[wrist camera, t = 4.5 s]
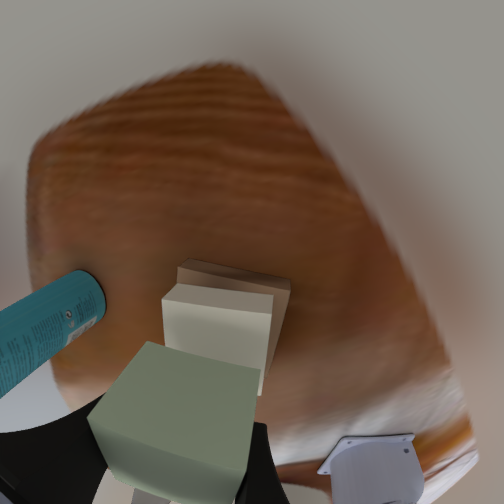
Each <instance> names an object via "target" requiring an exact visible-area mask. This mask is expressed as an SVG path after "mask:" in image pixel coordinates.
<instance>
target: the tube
mask: <svg viewBox="0 0 504 504" xmlns="http://www.w3.org/2000/svg"><path fill="white" fill-rule="evenodd" d="M104 313H105V298H104V294H103V292H102V290H101V288H100V286H99V284H98V283H97V282H96V280H95V279H94V278H93V277H92V276H91V275H90V274H88V273H86V272H84V271H81V270H76V271H73V272H71V273H69V274H67V275H65V276H63V277H61V278H59V279H57V280H56V281H54V282H52V283H50V284H48V285H46V286H45V287H43V288H41V289H39V290H37V291H36V292H34V293H32V294H30V295H28V296H27V297H25V298H23V299H21V300H19V301H18V302H16V303H14V304H12V305H11V306H9V307H7V308H5V309H3V310H2V311H0V399H1V398H2V397H3V396H4V395H5V394H6V393H8V392H9V391H10V390H11V389H12V388H14V387H15V386H16V385H17V384H19V383H20V382H21V381H22V380H23V379H25V378H26V377H27V376H28V375H30V374H31V373H32V372H33V371H34V370H36V369H37V368H38V367H39V366H41V365H42V364H43V363H45V362H46V361H47V360H48V359H50V358H51V357H52V356H54V355H55V354H56V353H57V352H59V351H60V350H61V349H63V348H64V347H65V346H66V345H68V344H69V343H70V342H72V341H73V340H74V339H76V338H77V337H78V336H80V335H81V334H82V333H83V332H85V331H86V330H87V329H89V328H90V327H91V326H93V325H94V324H95V323H97V322H98V321H99V320H100V319H101V318H102V317H103V316H104Z"/></svg>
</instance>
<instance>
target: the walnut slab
mask: <svg viewBox="0 0 504 504" xmlns="http://www.w3.org/2000/svg"><path fill="white" fill-rule="evenodd" d="M177 283H180V284H187V285H194V286H201V287H209V288H217V289H225V290H233V291H242V292H250V293H259V294H269V295H274V296H273V307H272V317H271V325H270V333H269V341H268V349H267V356H266V364H265V371H264V378H267V377H268V373H269V370H270V367H271V363H272V360H273V356H274V353H275V349H276V345H277V342H278V338H279V334H280V331H281V327H282V323H283V320H284V316H285V312H286V308H287V304H288V300H289V296H290V292H291V286H290V279H286V278H281V277H276V276H271V275H266V274H261V273H256V272H251V271H247V270H242V269H237V268H232V267H227V266H223V265H218V264H213V263H208V262H204V261H199V260H195V259H190V258H188V259H187V260H186V261H185V262H183V263H182V264H181V265H180V266H178V272H177ZM177 283H176V284H177Z"/></svg>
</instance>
